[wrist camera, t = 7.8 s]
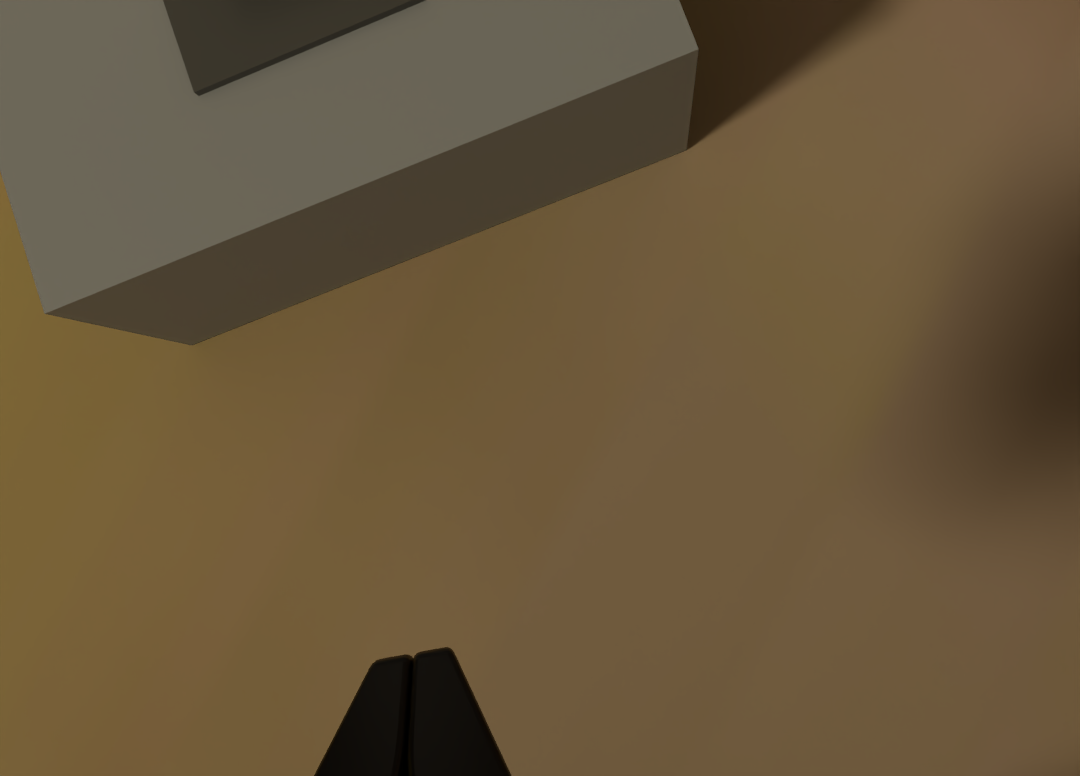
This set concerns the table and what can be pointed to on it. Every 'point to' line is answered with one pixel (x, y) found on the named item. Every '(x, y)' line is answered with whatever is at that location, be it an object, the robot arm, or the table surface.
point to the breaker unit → (308, 138)
